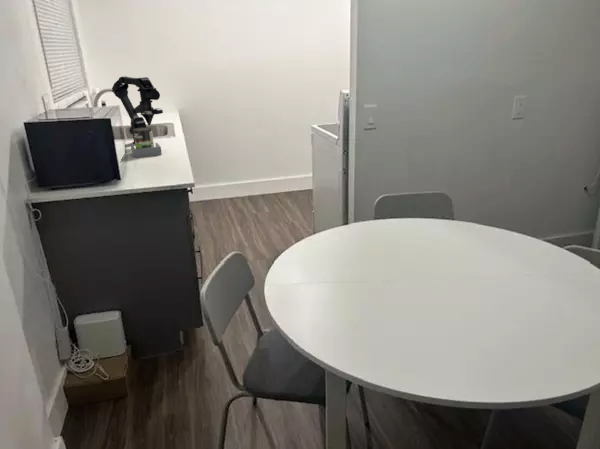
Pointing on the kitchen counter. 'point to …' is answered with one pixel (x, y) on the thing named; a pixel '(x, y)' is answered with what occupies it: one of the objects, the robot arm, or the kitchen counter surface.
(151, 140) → the coffee can
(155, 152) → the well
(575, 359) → the kitchen counter surface
